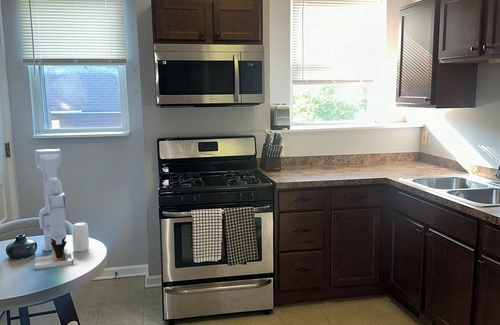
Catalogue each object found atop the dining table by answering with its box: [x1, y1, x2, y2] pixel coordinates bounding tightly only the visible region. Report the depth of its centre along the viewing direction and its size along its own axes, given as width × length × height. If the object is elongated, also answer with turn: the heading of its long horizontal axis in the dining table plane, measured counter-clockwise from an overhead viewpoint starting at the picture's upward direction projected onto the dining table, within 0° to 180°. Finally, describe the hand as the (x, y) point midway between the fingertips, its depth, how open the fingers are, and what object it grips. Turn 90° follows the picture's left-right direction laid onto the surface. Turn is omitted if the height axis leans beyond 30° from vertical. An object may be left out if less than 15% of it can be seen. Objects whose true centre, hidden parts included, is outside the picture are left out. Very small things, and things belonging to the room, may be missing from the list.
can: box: [71, 221, 90, 253], centre depth 191 cm, size 6×6×12 cm
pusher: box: [64, 248, 69, 260], centre depth 178 cm, size 6×1×4 cm, turn 25°
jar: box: [51, 247, 65, 262], centre depth 177 cm, size 4×4×6 cm
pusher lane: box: [34, 251, 74, 270], centre depth 176 cm, size 9×14×2 cm, turn 115°
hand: (59, 256), depth 177 cm, fingers closed on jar, 4 cm apart
